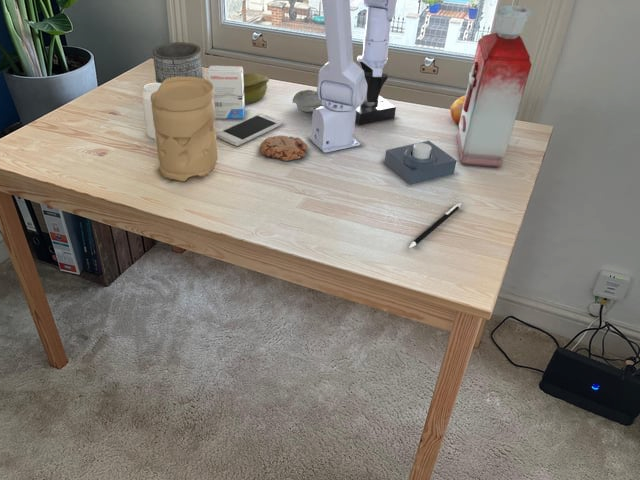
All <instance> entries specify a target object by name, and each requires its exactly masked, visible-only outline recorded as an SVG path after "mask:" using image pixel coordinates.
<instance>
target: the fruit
mask: <svg viewBox="0 0 640 480" xmlns="http://www.w3.org/2000/svg"><path fill="white" fill-rule="evenodd" d="M465 96H466V94H464V95H462V96H460V97H459V98H457V99H455V101H454V102H452V104H451V106H450V108H449V109H450V115H451V118H452V121H453V122H454V123H455V124H456V125H458V126H459V122H460V118H461V114H462V109H463V105H464V101H465Z"/></svg>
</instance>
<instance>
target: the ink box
mask: <svg viewBox="0 0 640 480" xmlns="http://www.w3.org/2000/svg"><path fill="white" fill-rule="evenodd" d="M243 74H244V67H243V66H241V65H240V66H236V65H209V66H208V68H207V70H206V75H205V76H206V80H208V81H210V82H211V83H212V85H213V91H214V96H213V101H214V106H215V119H231V120H232V119H234V120H239V119H240V120H243V119H244V117H245V112H246V109H245V108H246V106H245V105H246V103H244V80H243Z"/></svg>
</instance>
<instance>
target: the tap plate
mask: <svg viewBox="0 0 640 480" xmlns="http://www.w3.org/2000/svg"><path fill="white" fill-rule="evenodd" d="M396 110H397V107H396V105H394V104H392V103H391V102H390V101H388V100H387V99H385V98H384V97H383V96H381V95H379V100H378V105H376V106H373V107H367V106H363V105H361V106H359V107H358V108H357V110H356V120H355V124H357V125H358V126H364V125H369V124H373V123H378V122H383V121H388V120H393V119H395V117H396Z"/></svg>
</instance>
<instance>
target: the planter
mask: <svg viewBox="0 0 640 480" xmlns="http://www.w3.org/2000/svg"><path fill="white" fill-rule="evenodd" d="M152 57H153V66H154V73H155V83H162V82H163V81H164V80H165V79H167V78H171V77H177V76H180V77H199V78H203V79H204V77H203V65H202V54H201V47H200V46H199V45H198V44H195V43H191V42H184V41H183V42H182V41H176V42H168V43H163V44H160V45H158V46H156V47H154V48H153V49H152Z"/></svg>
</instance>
